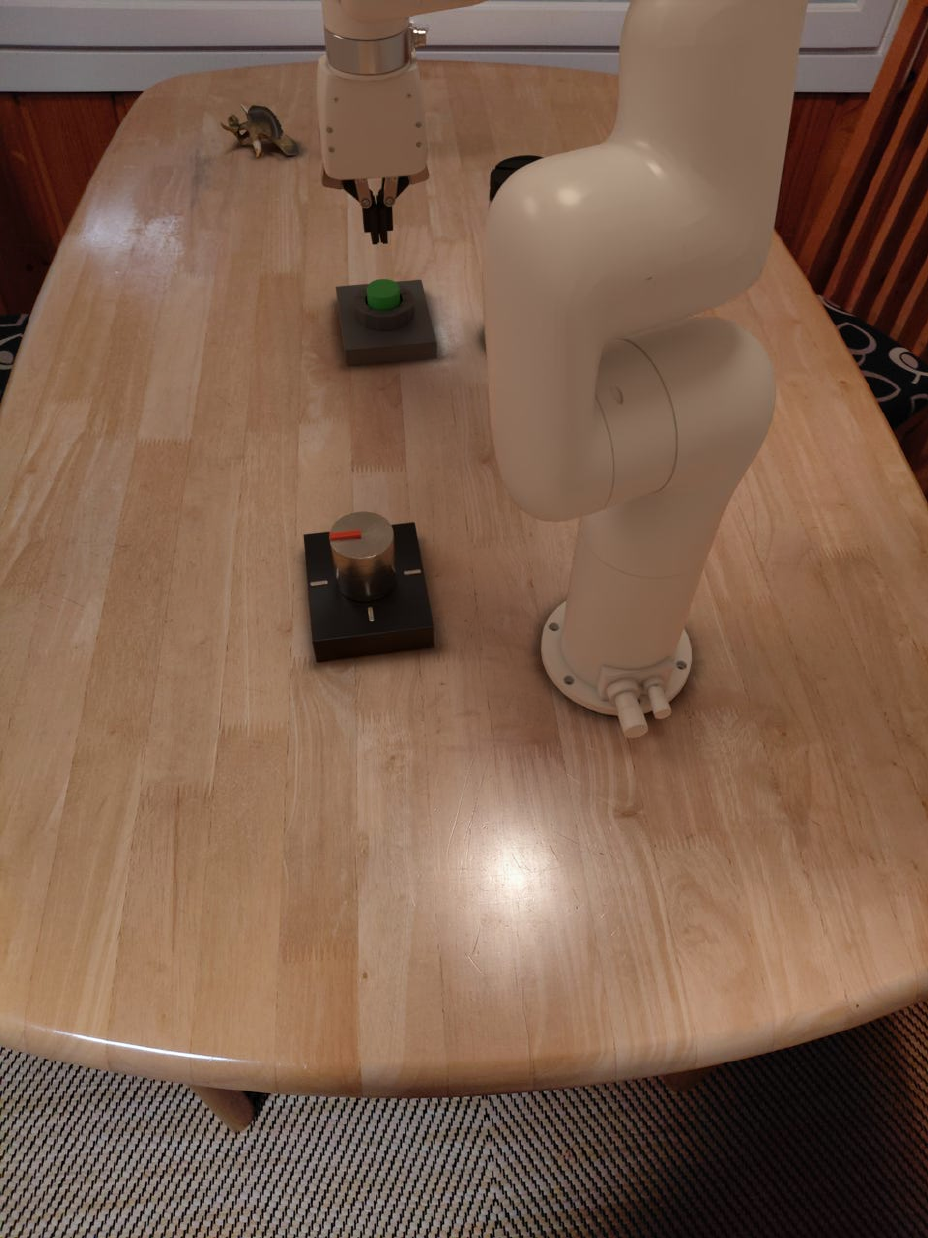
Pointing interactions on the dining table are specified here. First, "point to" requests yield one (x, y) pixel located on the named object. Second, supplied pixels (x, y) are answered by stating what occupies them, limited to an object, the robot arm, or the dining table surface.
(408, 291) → the block
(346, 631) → the dial panel
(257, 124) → the brown horned dinosaur figurine
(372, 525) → the program dial
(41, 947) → the dining table surface
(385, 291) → the button
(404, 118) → the robot arm
